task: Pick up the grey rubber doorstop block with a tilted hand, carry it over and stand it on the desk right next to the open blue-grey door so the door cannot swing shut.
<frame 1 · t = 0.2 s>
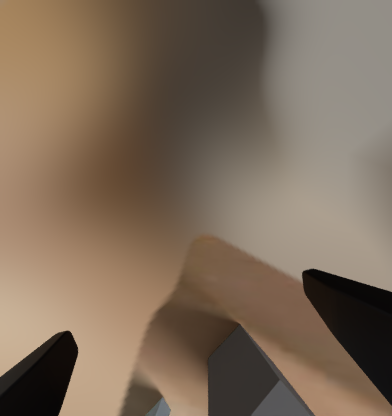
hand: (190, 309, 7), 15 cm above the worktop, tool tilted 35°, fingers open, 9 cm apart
doorstop: (240, 361, 19), on the worktop
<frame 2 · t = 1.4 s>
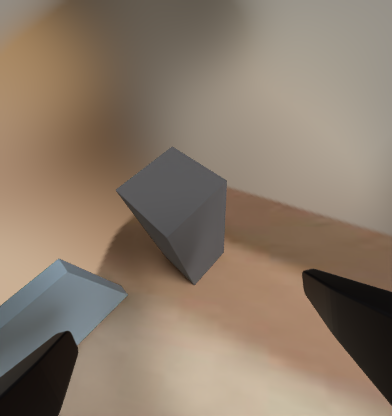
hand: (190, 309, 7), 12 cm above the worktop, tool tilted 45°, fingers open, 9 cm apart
door: (37, 325, 14), point 5 cm above the worktop, hinge at 0.0°
doorstop: (193, 254, 21), on the worktop
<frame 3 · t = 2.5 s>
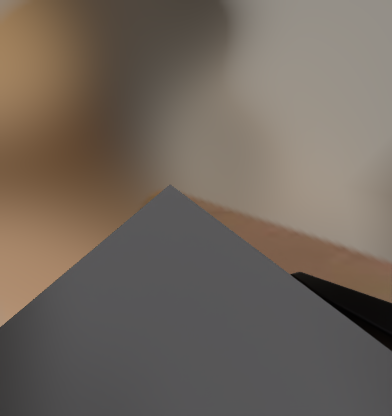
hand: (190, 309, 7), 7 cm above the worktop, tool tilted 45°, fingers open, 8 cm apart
doorstop: (208, 343, 12), on the worktop
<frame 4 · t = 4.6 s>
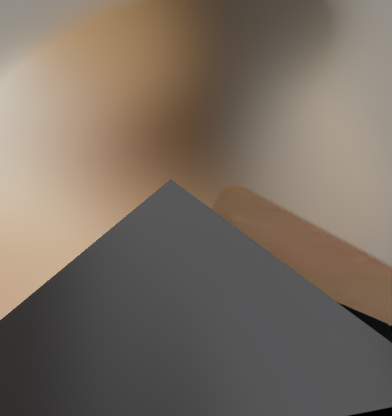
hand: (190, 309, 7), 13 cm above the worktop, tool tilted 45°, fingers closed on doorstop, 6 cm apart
doorstop: (208, 342, 12), point 7 cm above the worktop, touching gripper
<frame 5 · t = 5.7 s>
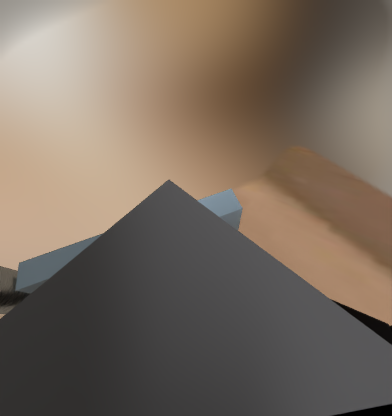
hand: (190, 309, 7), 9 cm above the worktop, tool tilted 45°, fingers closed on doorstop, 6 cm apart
door frame: (109, 398, 13), on the worktop
door: (156, 251, 13), point 5 cm above the worktop, hinge at 0.0°
doorstop: (208, 342, 12), point 2 cm above the worktop, touching gripper
when the fingers open (8 cm above the worktop, at t = 6.4 s): doorstop drops 1 cm, on the worktop.
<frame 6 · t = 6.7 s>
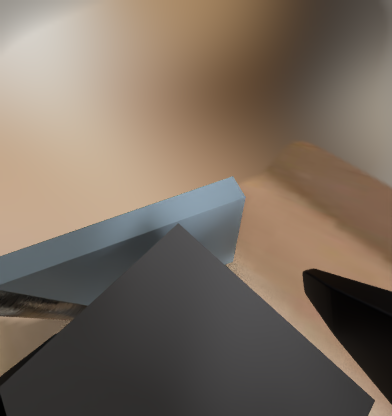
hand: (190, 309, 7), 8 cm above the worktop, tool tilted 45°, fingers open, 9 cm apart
door frame: (101, 407, 12), on the worktop
door: (151, 248, 12), point 5 cm above the worktop, hinge at 0.0°
doorstop: (209, 342, 14), on the worktop
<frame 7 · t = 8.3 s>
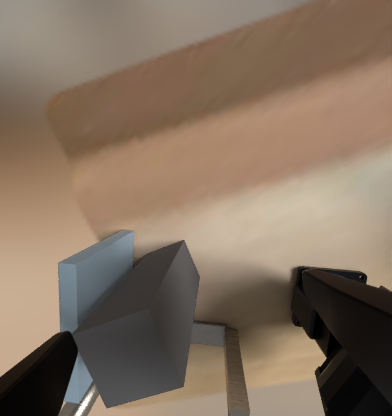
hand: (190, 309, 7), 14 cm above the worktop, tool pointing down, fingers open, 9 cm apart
door frame: (178, 328, 23), on the worktop
door: (97, 296, 18), point 5 cm above the worktop, hinge at 0.0°
doorstop: (173, 265, 22), on the worktop
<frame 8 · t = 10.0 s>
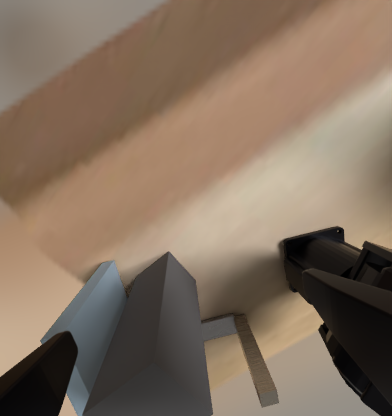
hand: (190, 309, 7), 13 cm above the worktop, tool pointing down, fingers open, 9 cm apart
door frame: (190, 332, 23), on the worktop
door: (98, 342, 17), point 5 cm above the worktop, hinge at 0.0°
doorstop: (166, 278, 21), on the worktop
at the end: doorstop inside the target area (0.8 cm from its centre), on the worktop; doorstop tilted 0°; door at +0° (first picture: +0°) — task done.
